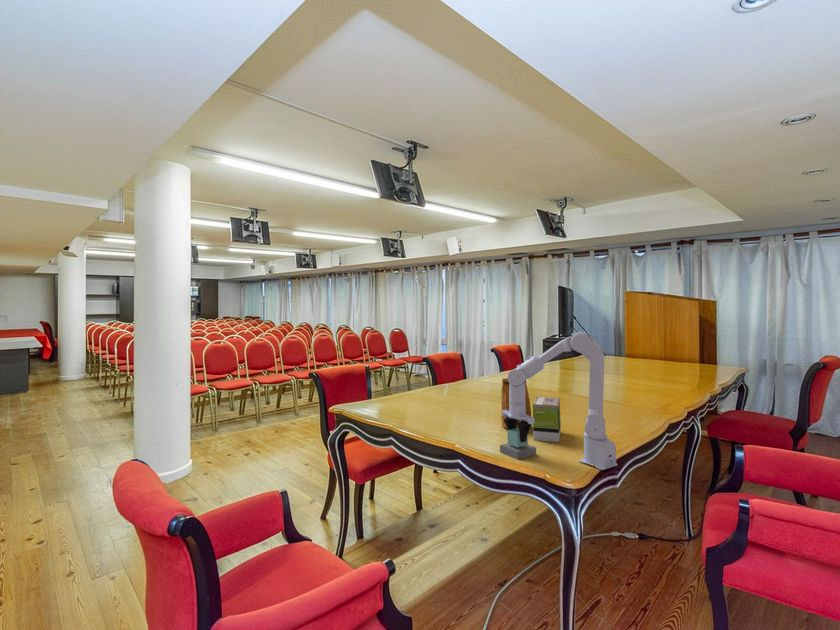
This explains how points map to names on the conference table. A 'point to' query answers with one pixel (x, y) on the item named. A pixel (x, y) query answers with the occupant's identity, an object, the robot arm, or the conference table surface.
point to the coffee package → (506, 400)
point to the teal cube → (515, 438)
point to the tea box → (546, 419)
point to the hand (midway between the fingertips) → (517, 439)
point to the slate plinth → (518, 451)
